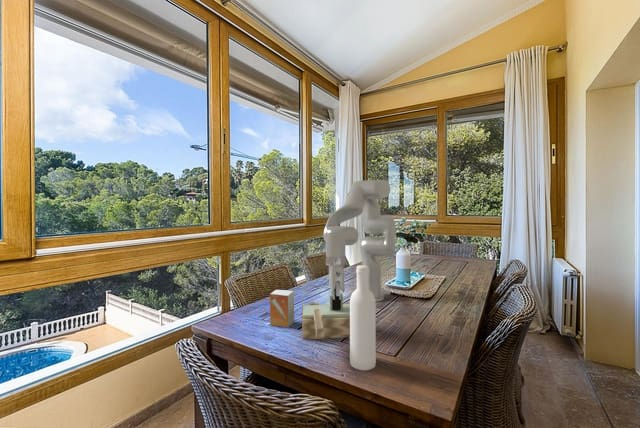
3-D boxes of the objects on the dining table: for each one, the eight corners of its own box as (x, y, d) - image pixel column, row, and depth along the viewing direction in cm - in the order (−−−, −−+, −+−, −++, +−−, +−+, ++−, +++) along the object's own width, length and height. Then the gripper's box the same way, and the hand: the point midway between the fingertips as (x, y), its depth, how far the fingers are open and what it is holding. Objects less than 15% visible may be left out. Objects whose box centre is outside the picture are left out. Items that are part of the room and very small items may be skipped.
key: (319, 317, 104) (319, 308, 103) (323, 338, 88) (323, 328, 88) (313, 317, 103) (313, 309, 103) (316, 338, 87) (316, 328, 87)
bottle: (346, 367, 87) (346, 268, 86) (353, 354, 94) (352, 262, 93) (373, 373, 84) (373, 270, 83) (378, 359, 91) (378, 264, 90)
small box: (269, 325, 117) (269, 293, 117) (276, 319, 123) (276, 289, 123) (288, 328, 115) (288, 295, 114) (294, 321, 121) (294, 290, 120)
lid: (350, 306, 118) (350, 290, 118) (356, 316, 108) (356, 298, 107) (302, 308, 116) (302, 291, 116) (303, 318, 106) (302, 300, 106)
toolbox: (350, 321, 121) (350, 301, 120) (358, 338, 106) (357, 315, 105) (302, 323, 119) (301, 303, 119) (302, 340, 104) (302, 317, 104)
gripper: (349, 264, 104) (349, 315, 104) (342, 256, 120) (342, 300, 121) (328, 265, 103) (328, 316, 104) (323, 256, 119) (324, 301, 120)
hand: (335, 307), depth 112 cm, fingers closed on lid, 2 cm apart
